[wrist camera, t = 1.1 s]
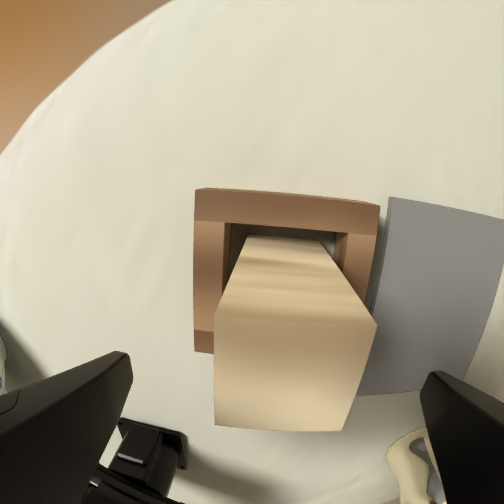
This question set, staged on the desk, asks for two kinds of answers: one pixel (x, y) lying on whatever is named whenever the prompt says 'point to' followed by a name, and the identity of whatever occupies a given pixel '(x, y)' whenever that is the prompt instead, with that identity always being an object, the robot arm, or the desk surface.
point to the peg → (288, 339)
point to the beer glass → (416, 469)
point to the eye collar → (272, 214)
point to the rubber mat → (431, 293)
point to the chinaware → (2, 367)
